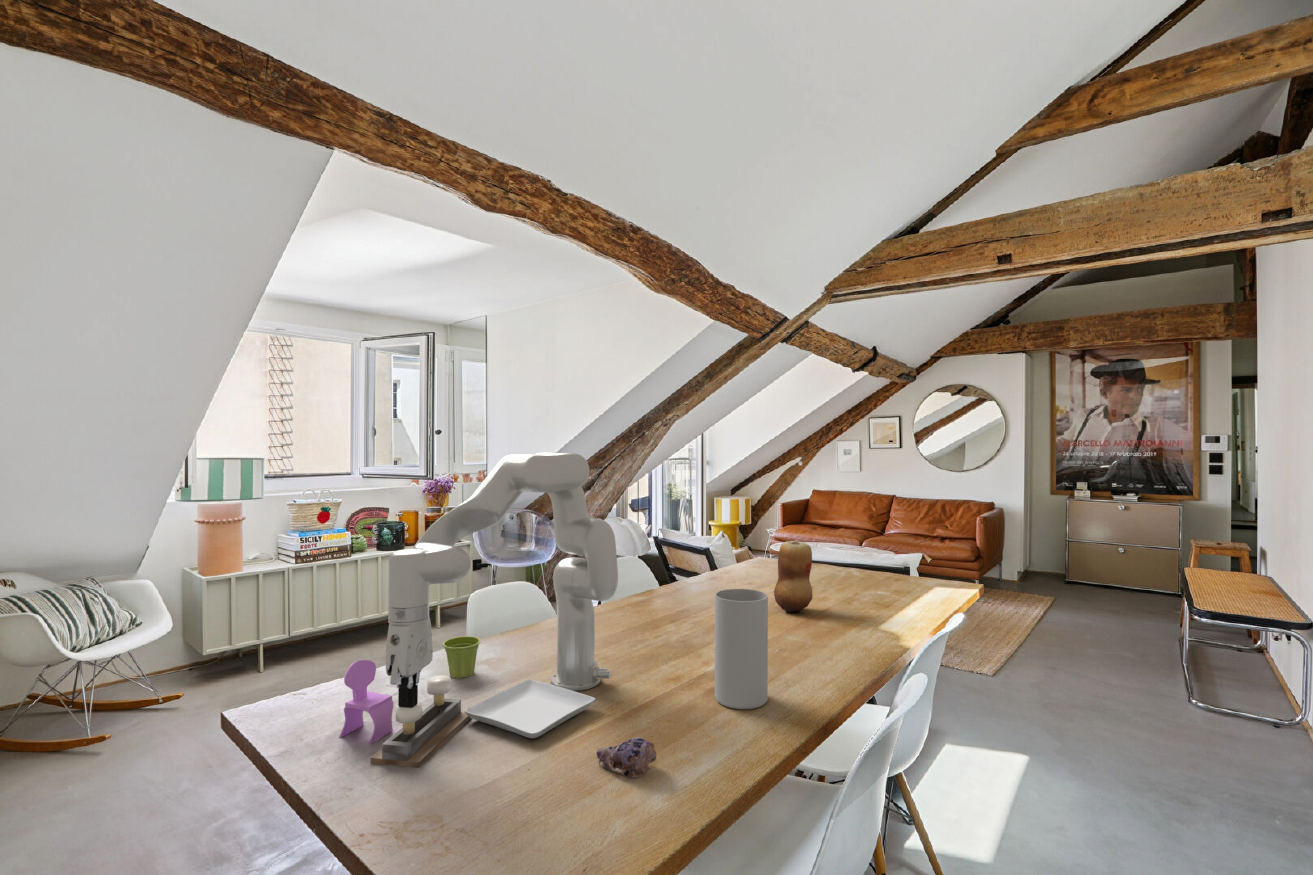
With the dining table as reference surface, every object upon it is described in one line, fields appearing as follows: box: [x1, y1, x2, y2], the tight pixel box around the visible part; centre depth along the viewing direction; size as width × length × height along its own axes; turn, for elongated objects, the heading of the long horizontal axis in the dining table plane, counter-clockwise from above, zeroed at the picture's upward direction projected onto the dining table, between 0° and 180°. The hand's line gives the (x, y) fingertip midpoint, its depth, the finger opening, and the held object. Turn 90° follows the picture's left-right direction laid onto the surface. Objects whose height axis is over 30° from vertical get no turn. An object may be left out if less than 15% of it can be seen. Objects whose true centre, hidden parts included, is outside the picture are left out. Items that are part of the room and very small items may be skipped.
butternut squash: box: [773, 540, 813, 613], centre depth 232 cm, size 14×13×25 cm
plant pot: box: [442, 635, 481, 679], centre depth 169 cm, size 9×9×9 cm
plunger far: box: [426, 675, 452, 706], centre depth 139 cm, size 5×5×5 cm
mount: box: [370, 698, 472, 768], centre depth 133 cm, size 10×22×4 cm, turn 171°
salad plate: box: [463, 678, 596, 739], centre depth 144 cm, size 21×21×3 cm
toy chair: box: [339, 659, 394, 744], centre depth 135 cm, size 8×9×15 cm
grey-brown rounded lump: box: [596, 736, 657, 779], centre depth 122 cm, size 12×8×6 cm, turn 56°
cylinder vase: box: [714, 588, 769, 710], centre depth 153 cm, size 12×12×25 cm
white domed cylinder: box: [395, 700, 423, 734], centre depth 127 cm, size 5×5×5 cm
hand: (408, 705), depth 127 cm, fingers closed
